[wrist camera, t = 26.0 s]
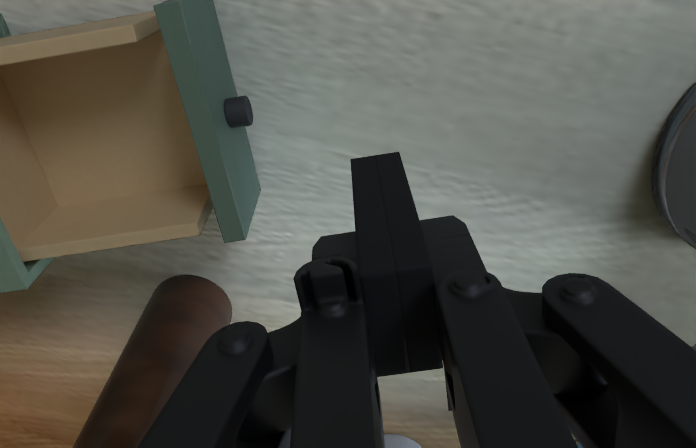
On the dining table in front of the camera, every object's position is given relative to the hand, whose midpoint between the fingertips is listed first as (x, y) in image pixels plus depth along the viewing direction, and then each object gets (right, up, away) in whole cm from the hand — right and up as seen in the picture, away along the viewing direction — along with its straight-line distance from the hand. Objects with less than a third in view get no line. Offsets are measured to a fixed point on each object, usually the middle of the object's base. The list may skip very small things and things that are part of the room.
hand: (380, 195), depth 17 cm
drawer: (-14, +6, +16) cm, 22 cm away
